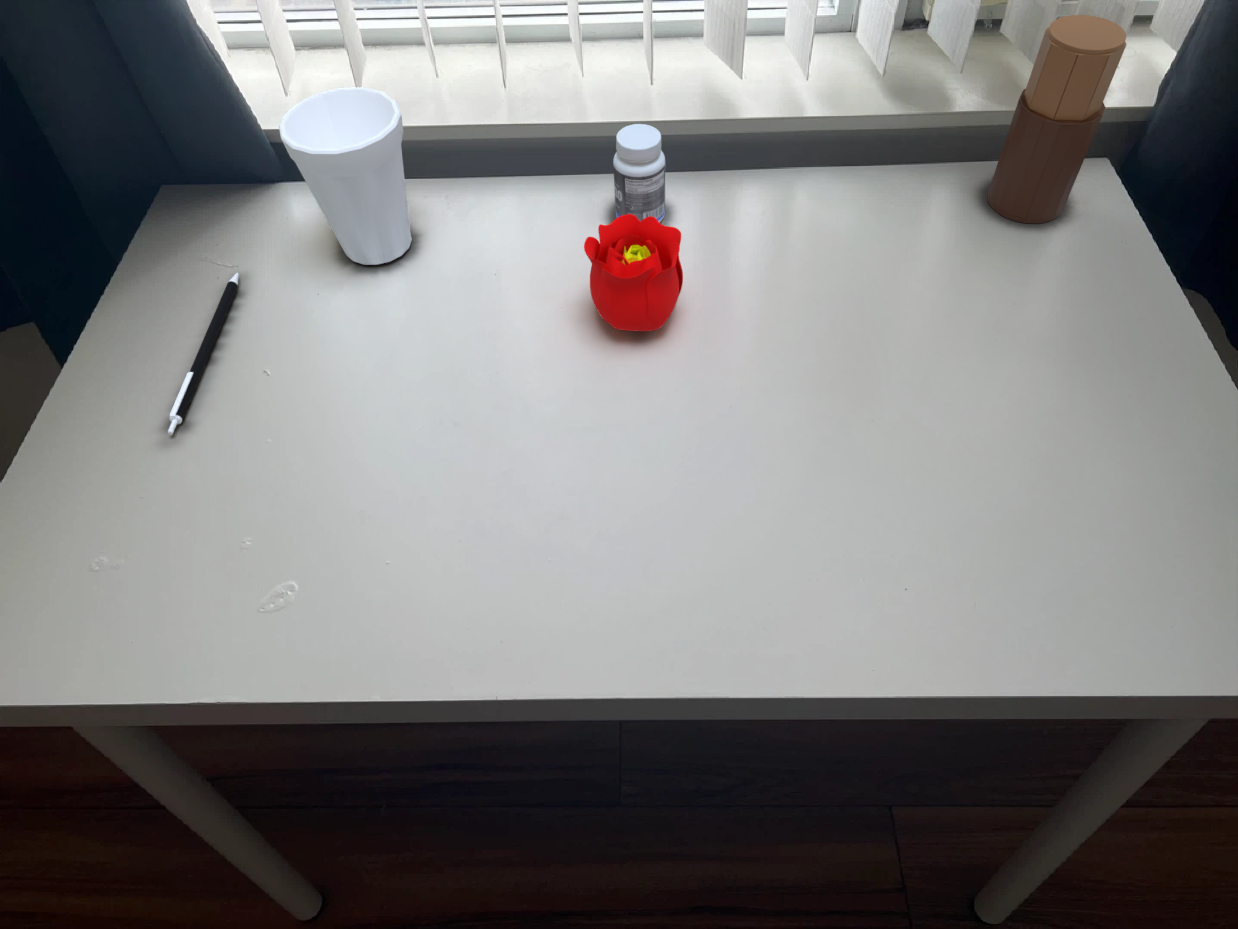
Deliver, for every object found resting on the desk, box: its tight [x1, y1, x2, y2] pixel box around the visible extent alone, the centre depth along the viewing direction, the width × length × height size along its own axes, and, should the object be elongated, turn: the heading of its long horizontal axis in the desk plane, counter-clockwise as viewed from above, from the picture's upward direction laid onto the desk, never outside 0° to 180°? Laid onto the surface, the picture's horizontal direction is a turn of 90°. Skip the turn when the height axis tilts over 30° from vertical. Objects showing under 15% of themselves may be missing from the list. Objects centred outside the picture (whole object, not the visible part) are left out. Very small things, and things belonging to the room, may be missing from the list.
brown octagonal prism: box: [1024, 14, 1128, 120], centre depth 74 cm, size 6×6×6 cm
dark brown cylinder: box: [987, 88, 1106, 225], centre depth 79 cm, size 7×7×14 cm
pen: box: [167, 271, 240, 436], centre depth 75 cm, size 1×19×1 cm, turn 179°
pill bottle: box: [612, 123, 666, 224], centre depth 82 cm, size 5×5×8 cm
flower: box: [583, 214, 684, 332], centre depth 73 cm, size 8×8×8 cm
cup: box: [278, 86, 413, 266], centre depth 79 cm, size 10×10×13 cm
